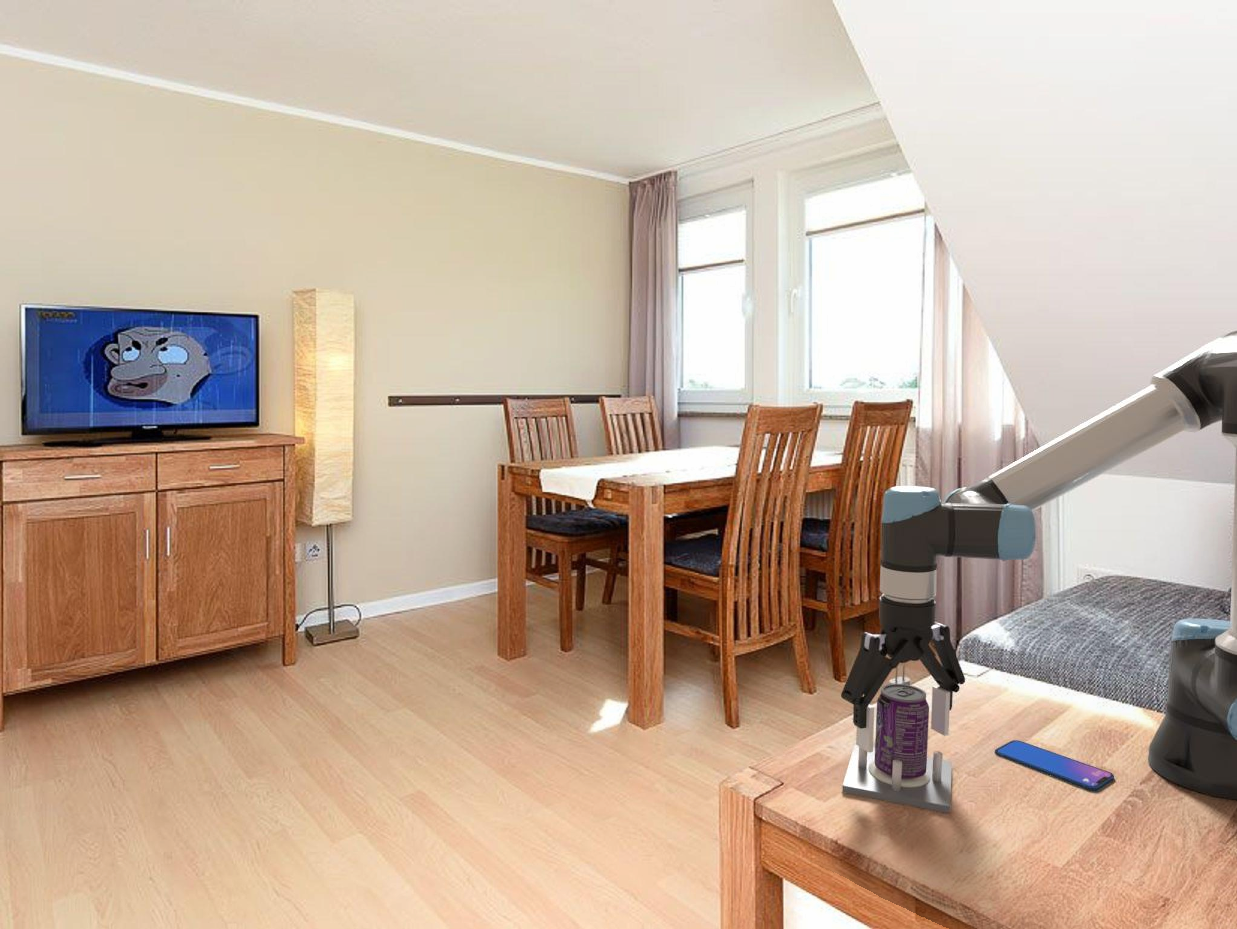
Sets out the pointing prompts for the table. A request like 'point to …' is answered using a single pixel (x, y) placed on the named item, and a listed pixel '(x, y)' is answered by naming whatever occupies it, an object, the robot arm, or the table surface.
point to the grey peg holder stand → (900, 782)
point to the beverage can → (902, 730)
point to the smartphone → (1056, 765)
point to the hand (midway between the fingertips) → (902, 740)
